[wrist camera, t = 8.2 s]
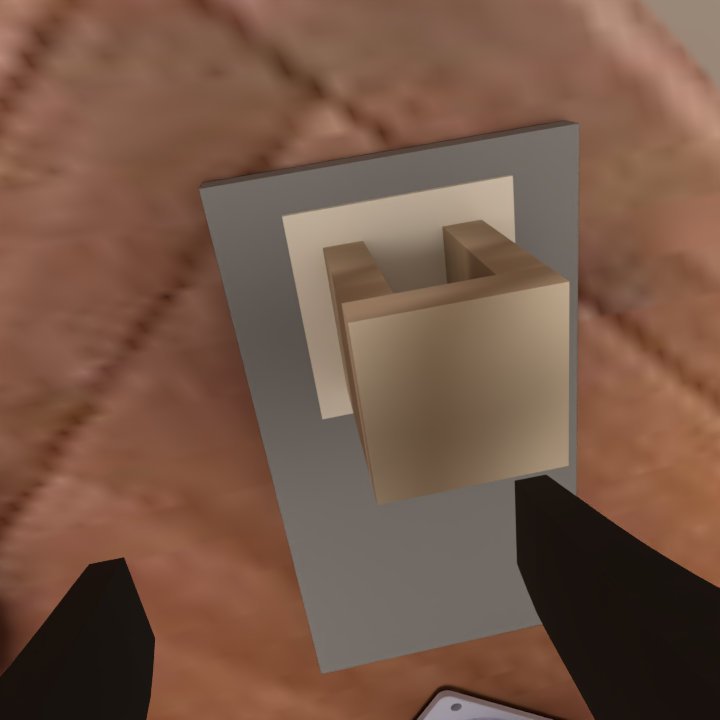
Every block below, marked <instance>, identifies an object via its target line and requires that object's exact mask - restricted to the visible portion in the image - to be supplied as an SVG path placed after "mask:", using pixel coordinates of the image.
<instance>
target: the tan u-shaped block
mask: <svg viewBox="0 0 720 720" xmlns="http://www.w3.org/2000/svg"><path fill="white" fill-rule="evenodd" d="M442 229H443V241H444V253H445V265H446V276H447V284H444V285H439V286H433V287H428V288H422V289H417V290H411V291H406V292H401V293H395V294H393V292H392V290H391V289H390V287H389V285H388V283H387V282H386V280H385V278H384V276H383V275H382V273H381V271H380V270H379V268H378V266H377V264H376V263H375V261H374V259H373V257H372V256H371V254H370V252H369V250H368V249H367V247H366V245H365V244H364V242H363V241H359V242H353V243H347V244H342V245H336V246H331V247H325V248H323V252H324V258H325V264H326V270H327V276H328V282H329V287H330V293H331V299H332V305H333V311H334V316H335V322H336V328H337V334H338V340H339V346H340V351H341V357H342V363H343V369H344V375H345V380H346V386H347V391H348V395H349V399H350V403H351V407H352V410H353V414H354V418H355V422H356V425H357V429H358V433H359V437H360V441H361V444H362V448H363V452H364V456H365V460H366V463H367V467H368V471H369V475H370V479H371V482H372V486H373V490H374V494H375V497H376V501H377V505H381V504H386V503H391V502H396V501H401V500H406V499H410V498H415V497H420V496H425V495H430V494H435V493H439V492H444V491H449V490H454V489H459V488H464V487H469V486H473V485H478V484H483V483H488V482H493V481H498V480H502V479H507V478H512V477H517V476H522V475H527V474H531V473H536V472H541V471H546V470H551V469H556V468H560V467H565V466H569V281H568V280H566V279H565V278H564V277H562V276H561V275H559V274H558V273H557V272H555V271H554V270H552V269H551V268H549V267H548V266H547V265H545V264H544V263H542V262H541V261H539V260H538V259H537V258H535V257H534V256H532V255H531V254H530V253H528V252H527V251H525V250H524V249H522V248H521V247H520V246H518V245H517V244H515V243H514V242H513V241H511V240H510V239H508V238H507V237H505V236H504V235H503V234H501V233H500V232H498V231H497V230H495V229H494V228H493V227H491V226H490V225H488V224H487V223H486V222H484V221H483V220H476V221H471V222H465V223H460V224H454V225H448V226H443V227H442Z"/></svg>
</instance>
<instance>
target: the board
mask: <svg viewBox="0 0 720 720" xmlns="http://www.w3.org/2000/svg"><path fill="white" fill-rule="evenodd" d="M199 191H200V195H201V199H202V203H203V207H204V211H205V215H206V219H207V222H208V226H209V230H210V234H211V238H212V242H213V246H214V250H215V254H216V258H217V262H218V266H219V270H220V274H221V278H222V282H223V286H224V290H225V294H226V298H227V302H228V306H229V310H230V314H231V317H232V321H233V325H234V329H235V333H236V337H237V341H238V345H239V349H240V353H241V357H242V361H243V365H244V369H245V373H246V377H247V381H248V385H249V389H250V393H251V397H252V401H253V405H254V409H255V413H256V416H257V420H258V424H259V428H260V432H261V436H262V440H263V444H264V448H265V452H266V456H267V460H268V464H269V468H270V472H271V476H272V480H273V484H274V488H275V492H276V496H277V500H278V504H279V508H280V511H281V515H282V519H283V523H284V527H285V531H286V535H287V539H288V543H289V547H290V551H291V555H292V559H293V563H294V567H295V571H296V575H297V579H298V583H299V587H300V591H301V595H302V599H303V603H304V607H305V610H306V614H307V618H308V622H309V626H310V630H311V634H312V638H313V642H314V646H315V650H316V654H317V658H318V662H319V666H320V670H321V674H324V673H328V672H333V671H337V670H341V669H346V668H350V667H355V666H359V665H364V664H368V663H372V662H377V661H381V660H386V659H390V658H395V657H399V656H404V655H408V654H412V653H417V652H421V651H426V650H430V649H435V648H439V647H444V646H448V645H452V644H457V643H461V642H466V641H470V640H475V639H479V638H483V637H488V636H492V635H497V634H501V633H506V632H510V631H515V630H519V629H523V628H528V627H532V626H537V625H541V624H542V622H541V620H540V618H539V616H538V615H537V612H536V610H535V608H534V605H533V603H532V600H531V598H530V596H529V593H528V591H527V588H526V586H525V583H524V581H523V578H522V576H521V573H520V570H519V568H518V565H517V550H516V514H515V480H520V479H525V478H530V477H535V476H541V475H548V476H549V477H551V478H552V479H553V480H555V481H556V482H557V483H559V484H560V485H562V486H563V487H564V488H566V489H567V490H569V491H570V492H571V493H573V494H574V495H575V496H576V477H577V343H578V209H579V123H574V122H569V121H559V122H554V123H548V124H542V125H536V126H530V127H525V128H519V129H513V130H507V131H501V132H496V133H490V134H484V135H478V136H472V137H467V138H461V139H455V140H449V141H443V142H438V143H432V144H426V145H420V146H414V147H409V148H403V149H397V150H391V151H385V152H380V153H374V154H368V155H362V156H356V157H351V158H345V159H339V160H333V161H327V162H322V163H316V164H310V165H304V166H298V167H293V168H287V169H281V170H275V171H269V172H264V173H258V174H252V175H246V176H240V177H235V178H229V179H223V180H217V181H211V182H206V183H202V184H201V186H200V188H199ZM476 220H483V221H484V222H486V223H487V224H488V225H490V226H491V227H493V228H494V229H495V230H497V231H498V232H500V233H501V234H503V235H504V236H505V237H507V238H508V239H510V240H511V241H513V242H514V243H515V244H517V245H518V246H520V247H521V248H522V249H524V250H525V251H527V252H528V253H530V254H531V255H532V256H534V257H535V258H537V259H538V260H539V261H541V262H542V263H544V264H545V265H547V266H548V267H549V268H551V269H552V270H554V271H555V272H557V273H558V274H559V275H561V276H562V277H564V278H565V279H566V280H568V281H569V466H565V467H560V468H556V469H551V470H546V471H541V472H536V473H531V474H527V475H522V476H517V477H512V478H507V479H502V480H498V481H493V482H488V483H483V484H478V485H473V486H469V487H464V488H459V489H454V490H449V491H444V492H439V493H435V494H430V495H425V496H420V497H415V498H410V499H406V500H401V501H396V502H391V503H386V504H381V505H377V501H376V497H375V494H374V490H373V486H372V482H371V479H370V475H369V471H368V467H367V463H366V460H365V456H364V452H363V448H362V444H361V441H360V437H359V433H358V429H357V425H356V422H355V418H354V414H353V410H352V407H351V403H350V399H349V395H348V391H347V386H346V380H345V375H344V369H343V363H342V357H341V351H340V346H339V340H338V334H337V328H336V322H335V316H334V311H333V305H332V299H331V293H330V287H329V282H328V276H327V270H326V264H325V258H324V252H323V248H325V247H331V246H336V245H342V244H347V243H353V242H359V241H363V242H364V244H365V245H366V247H367V249H368V250H369V252H370V254H371V256H372V257H373V259H374V261H375V263H376V264H377V266H378V268H379V270H380V271H381V273H382V275H383V276H384V278H385V280H386V282H387V283H388V285H389V287H390V289H391V290H392V292H393V294H395V293H401V292H406V291H411V290H417V289H422V288H428V287H433V286H439V285H444V284H447V276H446V265H445V253H444V241H443V229H442V227H443V226H448V225H454V224H460V223H465V222H471V221H476Z"/></svg>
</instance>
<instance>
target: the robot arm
mask: <svg viewBox="0 0 720 720" xmlns="http://www.w3.org/2000/svg"><path fill="white" fill-rule="evenodd" d="M515 514H516V550H517V565H518V568H519V570H520V573H521V576H522V578H523V581H524V583H525V586H526V588H527V591H528V593H529V596H530V598H531V600H532V603H533V605H534V608H535V610H536V612H537V615H538V616H539V618H540V620H541V622H542V624H543V626H544V628H545V630H546V631H547V633H548V635H549V637H550V639H551V641H552V642H553V644H554V646H555V648H556V650H557V652H558V653H559V655H560V657H561V659H562V661H563V662H564V664H565V666H566V668H567V670H568V671H569V673H570V675H571V677H572V679H573V680H574V682H575V684H576V686H577V688H578V690H579V691H580V693H581V695H582V697H583V699H584V700H585V702H586V704H587V706H588V708H589V709H590V711H591V713H592V715H593V717H594V718H595V720H720V588H719V587H717V586H715V585H713V584H711V583H709V582H708V581H706V580H704V579H702V578H700V577H699V576H697V575H695V574H693V573H692V572H690V571H688V570H687V569H685V568H683V567H682V566H680V565H678V564H677V563H675V562H673V561H672V560H670V559H668V558H667V557H665V556H663V555H662V554H660V553H658V552H657V551H655V550H654V549H652V548H651V547H649V546H647V545H646V544H644V543H643V542H641V541H640V540H638V539H637V538H635V537H634V536H632V535H631V534H629V533H628V532H626V531H625V530H623V529H622V528H620V527H619V526H617V525H616V524H615V523H613V522H612V521H610V520H609V519H607V518H606V517H605V516H603V515H602V514H600V513H599V512H598V511H596V510H595V509H593V508H592V507H591V506H589V505H588V504H586V503H585V502H584V501H582V500H581V499H580V498H578V497H577V496H575V495H574V494H573V493H571V492H570V491H569V490H567V489H566V488H564V487H563V486H562V485H560V484H559V483H557V482H556V481H555V480H553V479H552V478H551V477H549V476H548V475H541V476H535V477H530V478H525V479H520V480H515ZM154 647H155V637H154V634H153V632H152V629H151V627H150V624H149V621H148V619H147V616H146V614H145V611H144V608H143V606H142V603H141V601H140V598H139V595H138V593H137V590H136V587H135V585H134V582H133V580H132V577H131V574H130V572H129V569H128V567H127V564H126V561H125V559H124V558H119V559H114V560H108V561H103V562H98V563H93V564H89V565H88V567H87V568H86V569H85V570H84V572H83V573H82V574H81V575H80V577H79V578H78V579H77V581H76V582H75V583H74V584H73V586H72V587H71V588H70V590H69V591H68V592H67V594H66V595H65V596H64V597H63V599H62V600H61V601H60V603H59V604H58V605H57V607H56V608H55V609H54V610H53V612H52V613H51V614H50V616H49V617H48V618H47V620H46V621H45V622H44V623H43V625H42V626H41V627H40V629H39V630H38V631H37V632H36V634H35V635H34V636H33V638H32V639H31V640H30V641H29V643H28V644H27V645H26V646H25V648H24V649H23V650H22V651H21V653H20V654H19V655H18V656H17V658H16V659H15V660H14V661H13V663H12V664H11V665H10V666H9V668H8V669H7V670H6V671H5V672H4V673H3V675H2V676H1V677H0V720H146V718H147V713H148V707H149V702H150V697H151V687H152V676H153V663H154ZM417 720H552V719H549V718H545V717H542V716H538V715H535V714H531V713H528V712H524V711H521V710H517V709H514V708H510V707H507V706H503V705H499V704H496V703H492V702H489V701H485V700H482V699H478V698H475V697H471V696H468V695H464V694H461V693H457V692H454V691H450V690H445V691H442V692H440V693H438V694H437V695H436V697H435V698H434V699H433V700H432V702H431V703H430V704H429V705H428V707H427V708H426V709H425V710H424V712H423V713H422V714H421V715H420V717H419V718H418V719H417Z"/></svg>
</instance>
